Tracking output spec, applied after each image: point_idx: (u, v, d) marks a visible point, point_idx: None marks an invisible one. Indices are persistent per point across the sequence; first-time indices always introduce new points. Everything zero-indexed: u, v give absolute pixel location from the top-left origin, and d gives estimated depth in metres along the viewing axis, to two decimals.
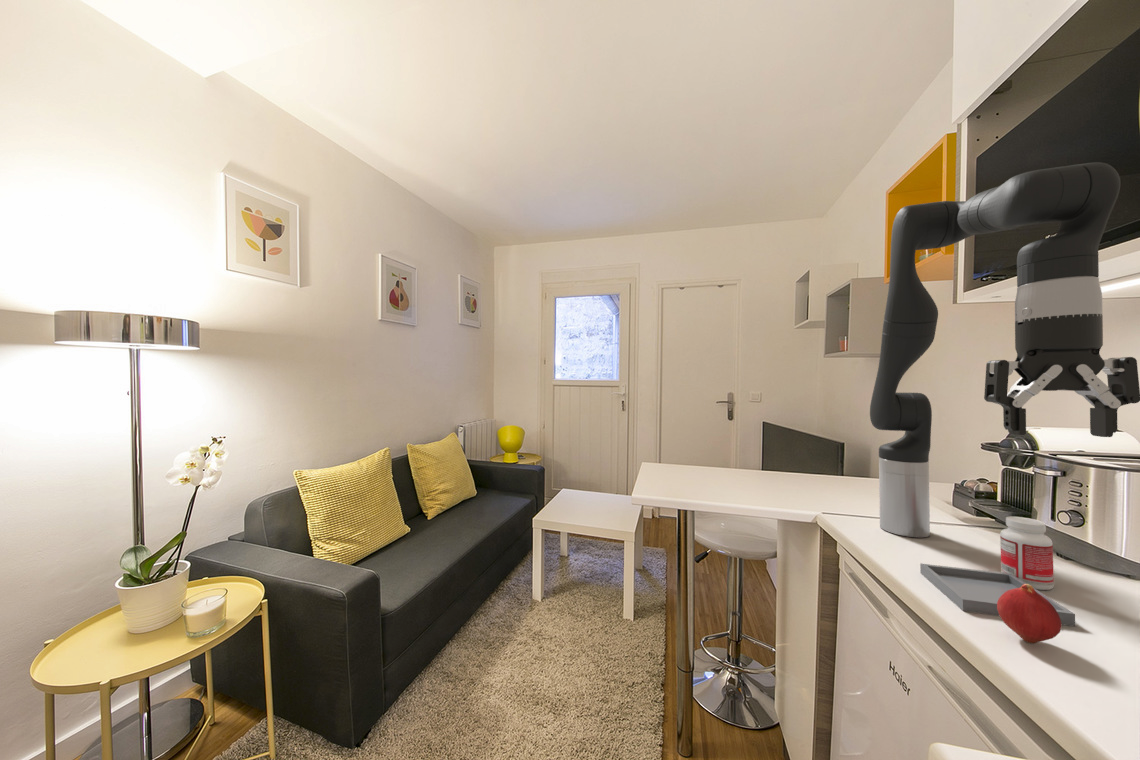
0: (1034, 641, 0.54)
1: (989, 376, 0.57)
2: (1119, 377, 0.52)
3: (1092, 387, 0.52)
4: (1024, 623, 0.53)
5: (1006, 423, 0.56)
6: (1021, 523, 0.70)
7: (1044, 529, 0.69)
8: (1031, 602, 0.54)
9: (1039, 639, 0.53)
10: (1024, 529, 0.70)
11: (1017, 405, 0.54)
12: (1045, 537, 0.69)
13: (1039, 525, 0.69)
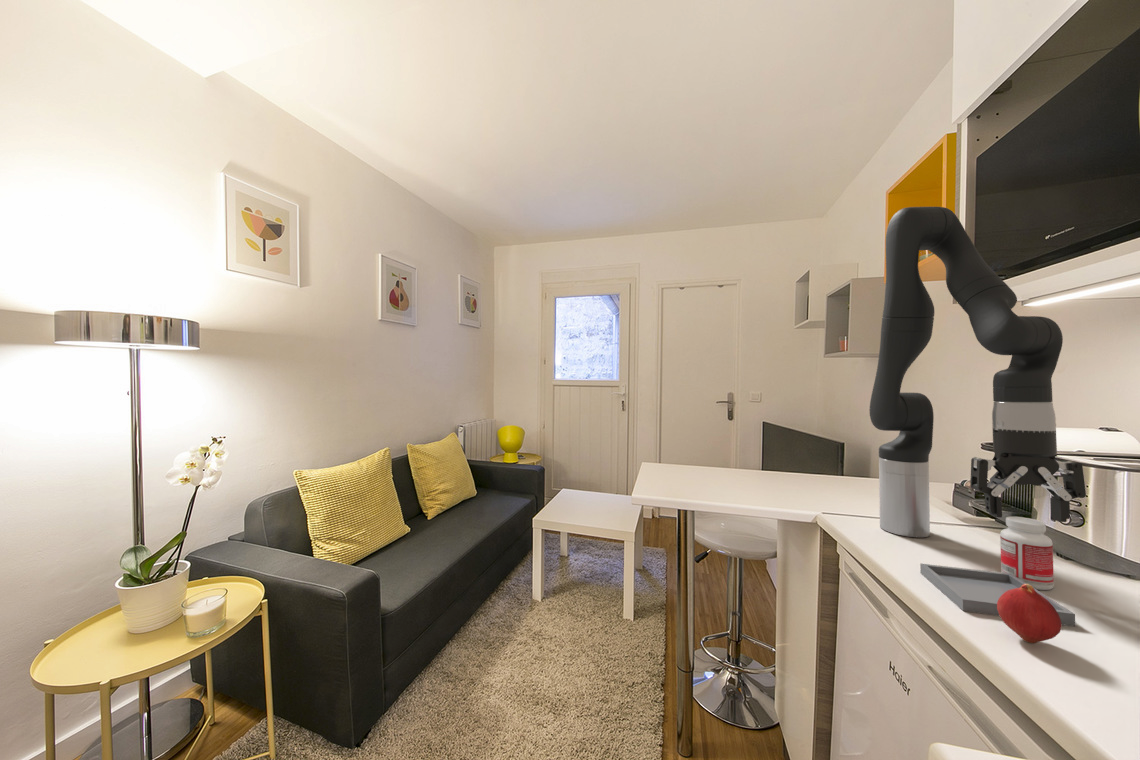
0: (1034, 641, 0.54)
1: (973, 470, 0.74)
2: (1070, 476, 0.69)
3: (1050, 484, 0.69)
4: (1024, 623, 0.53)
5: (987, 507, 0.73)
6: (1021, 523, 0.70)
7: (1044, 529, 0.69)
8: (1031, 602, 0.54)
9: (1039, 639, 0.53)
10: (1024, 529, 0.70)
11: (995, 494, 0.71)
12: (1045, 537, 0.69)
13: (1039, 525, 0.69)
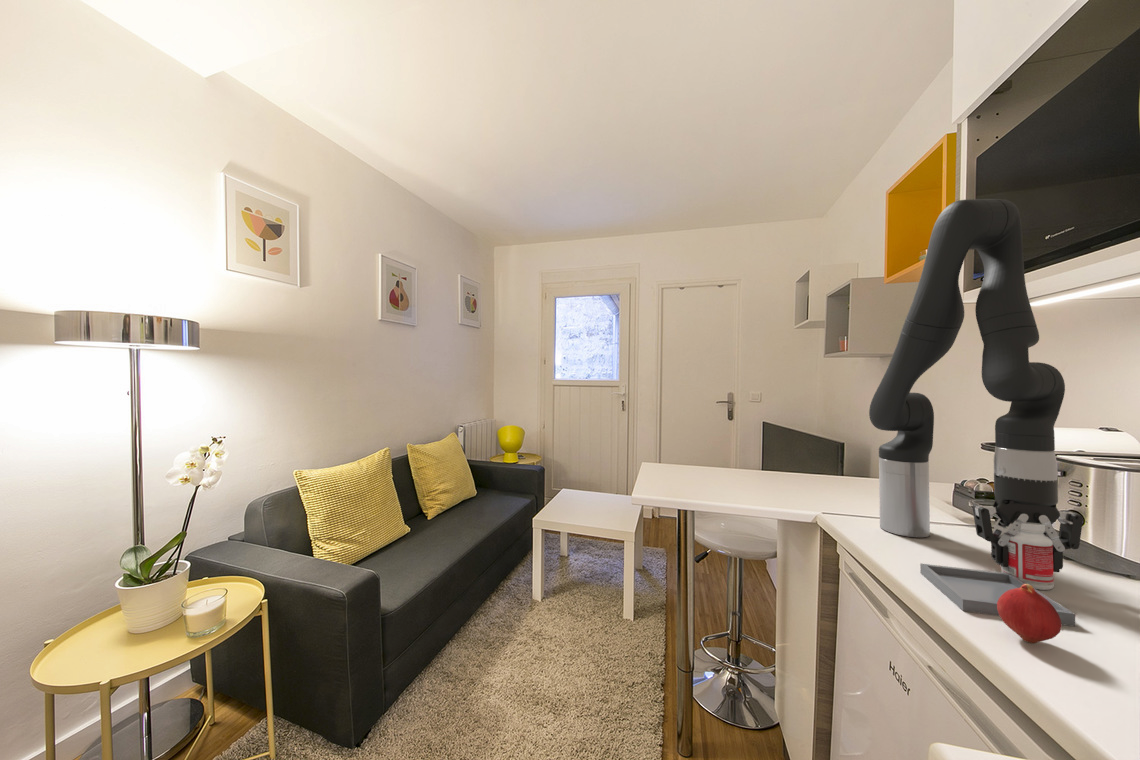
0: (1034, 641, 0.54)
1: (976, 518, 0.73)
2: (1068, 527, 0.69)
3: (1047, 533, 0.69)
4: (1024, 623, 0.53)
5: (993, 555, 0.73)
6: (1021, 523, 0.70)
7: (1044, 529, 0.69)
8: (1031, 602, 0.54)
9: (1039, 639, 0.53)
10: (1024, 529, 0.70)
11: (1001, 544, 0.71)
12: (1045, 537, 0.69)
13: (1039, 525, 0.69)
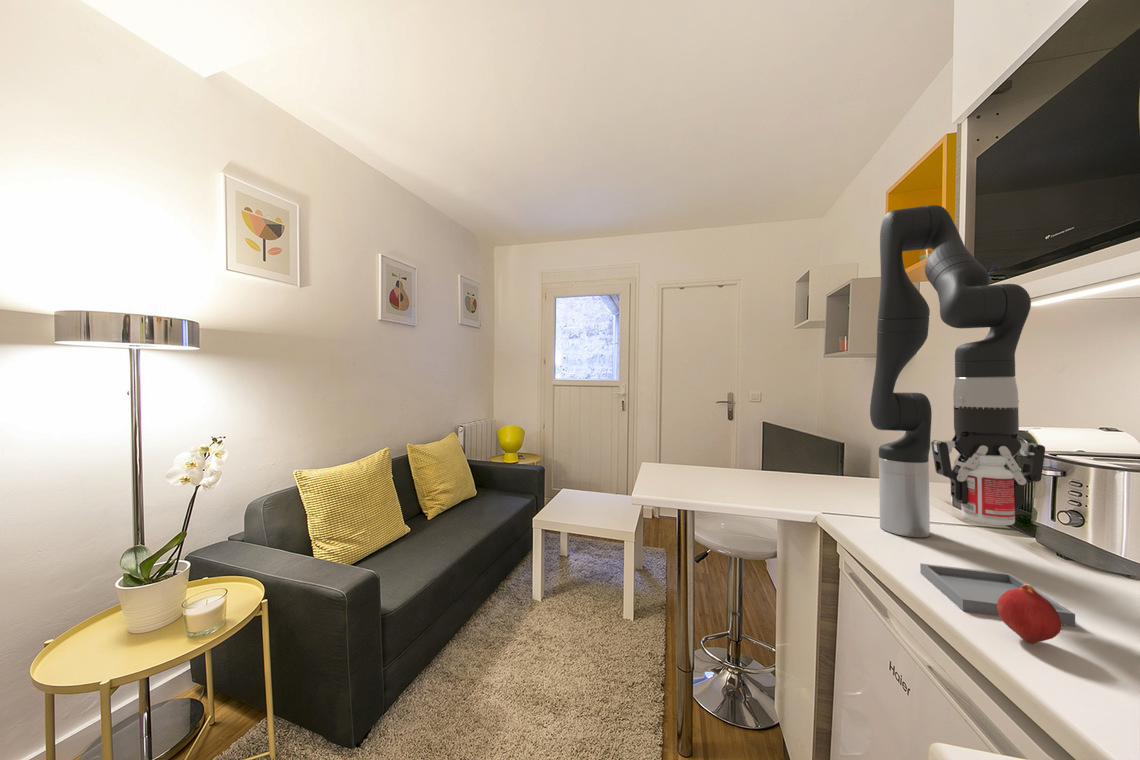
0: (1034, 641, 0.54)
1: (935, 454, 0.69)
2: (1029, 459, 0.65)
3: (1007, 465, 0.64)
4: (1024, 623, 0.53)
5: (952, 493, 0.68)
6: (981, 456, 0.65)
7: (1005, 461, 0.64)
8: (1031, 602, 0.54)
9: (1039, 639, 0.53)
10: (984, 462, 0.65)
11: (960, 479, 0.67)
12: (1006, 470, 0.64)
13: (999, 457, 0.64)
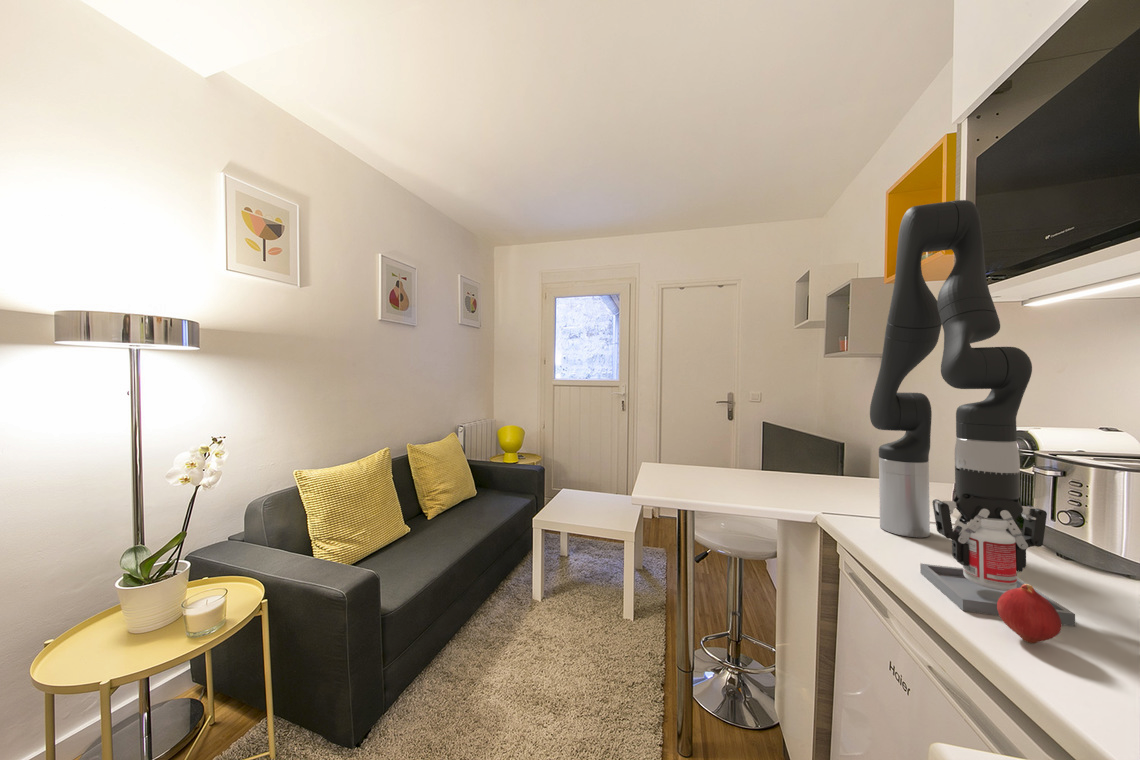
0: (1034, 641, 0.54)
1: (936, 514, 0.69)
2: (1031, 523, 0.64)
3: (1009, 529, 0.64)
4: (1024, 623, 0.53)
5: (954, 553, 0.68)
6: (982, 519, 0.65)
7: (1006, 525, 0.64)
8: (1031, 602, 0.54)
9: (1039, 639, 0.53)
10: (985, 525, 0.65)
11: (961, 541, 0.67)
12: (1007, 534, 0.64)
13: (1001, 521, 0.64)
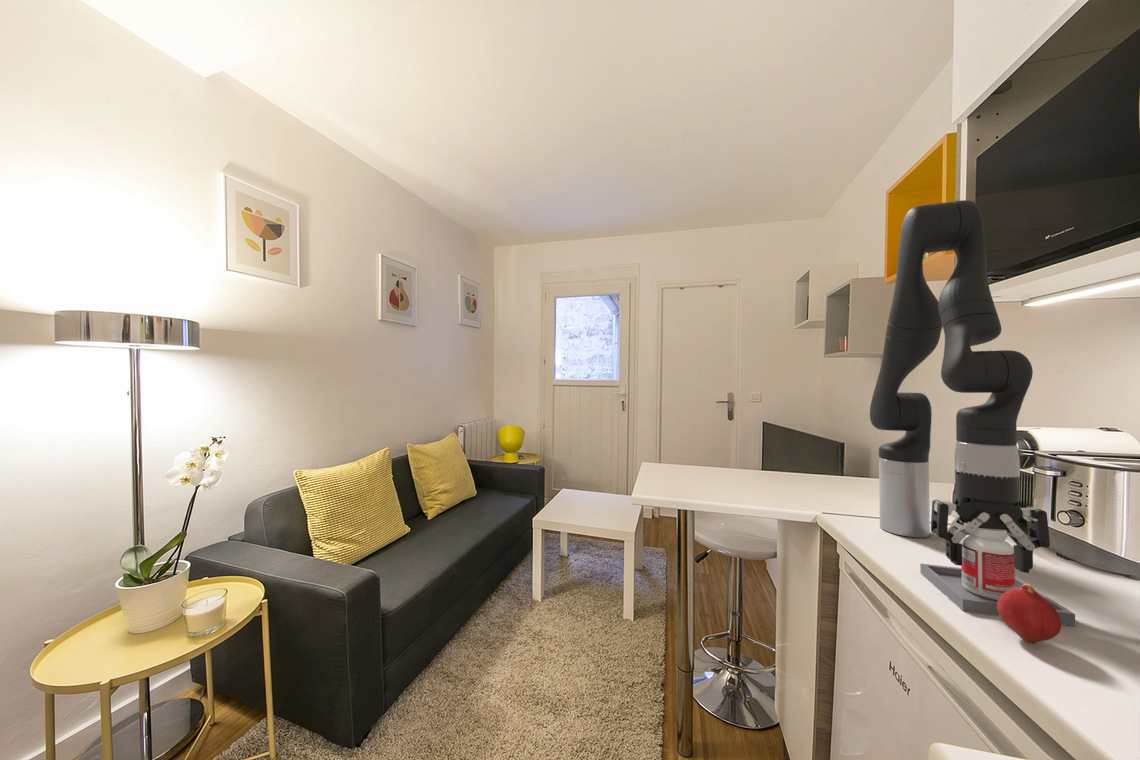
0: (1034, 641, 0.54)
1: (934, 513, 0.69)
2: (1034, 524, 0.64)
3: (1012, 532, 0.64)
4: (1024, 623, 0.53)
5: (947, 553, 0.68)
6: (981, 529, 0.65)
7: (1005, 536, 0.64)
8: (1031, 602, 0.54)
9: (1039, 639, 0.53)
10: (984, 536, 0.65)
11: (955, 541, 0.67)
12: (1006, 544, 0.64)
13: (1000, 532, 0.64)
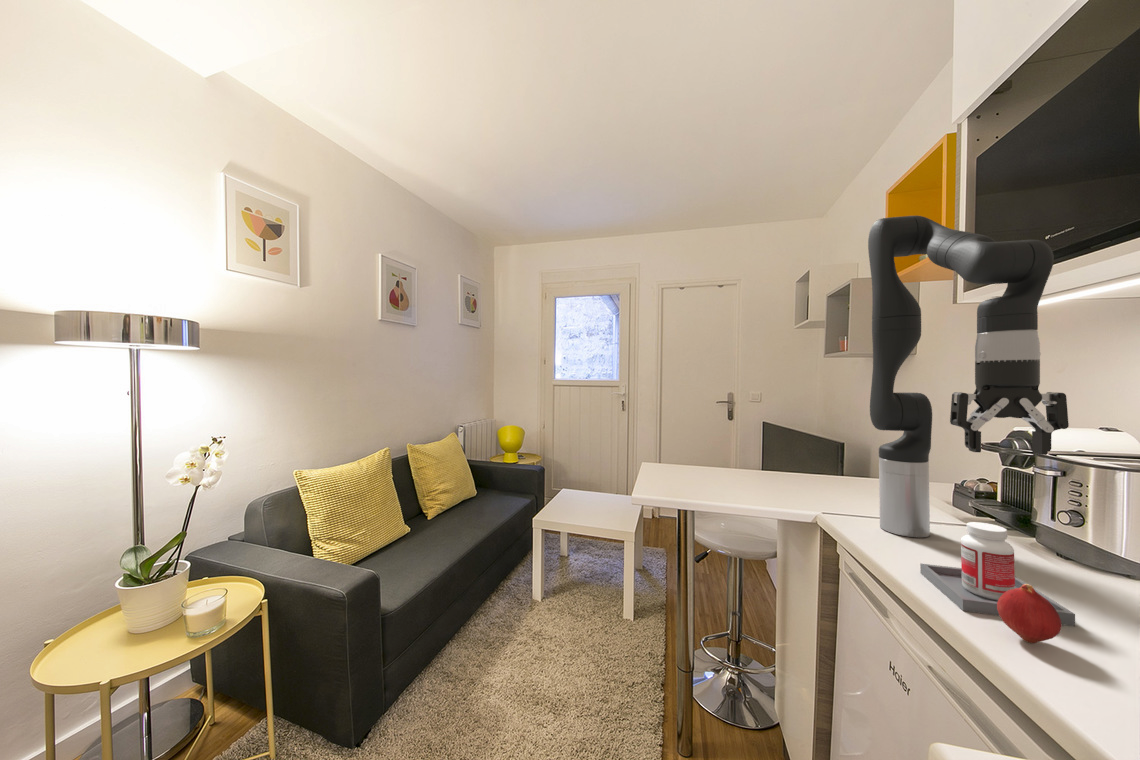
0: (1034, 641, 0.54)
1: (953, 405, 0.71)
2: (1053, 408, 0.66)
3: (1031, 415, 0.66)
4: (1024, 623, 0.53)
5: (966, 442, 0.70)
6: (981, 529, 0.65)
7: (1005, 536, 0.64)
8: (1031, 602, 0.54)
9: (1039, 639, 0.53)
10: (984, 536, 0.65)
11: (974, 429, 0.69)
12: (1006, 544, 0.64)
13: (1000, 532, 0.64)
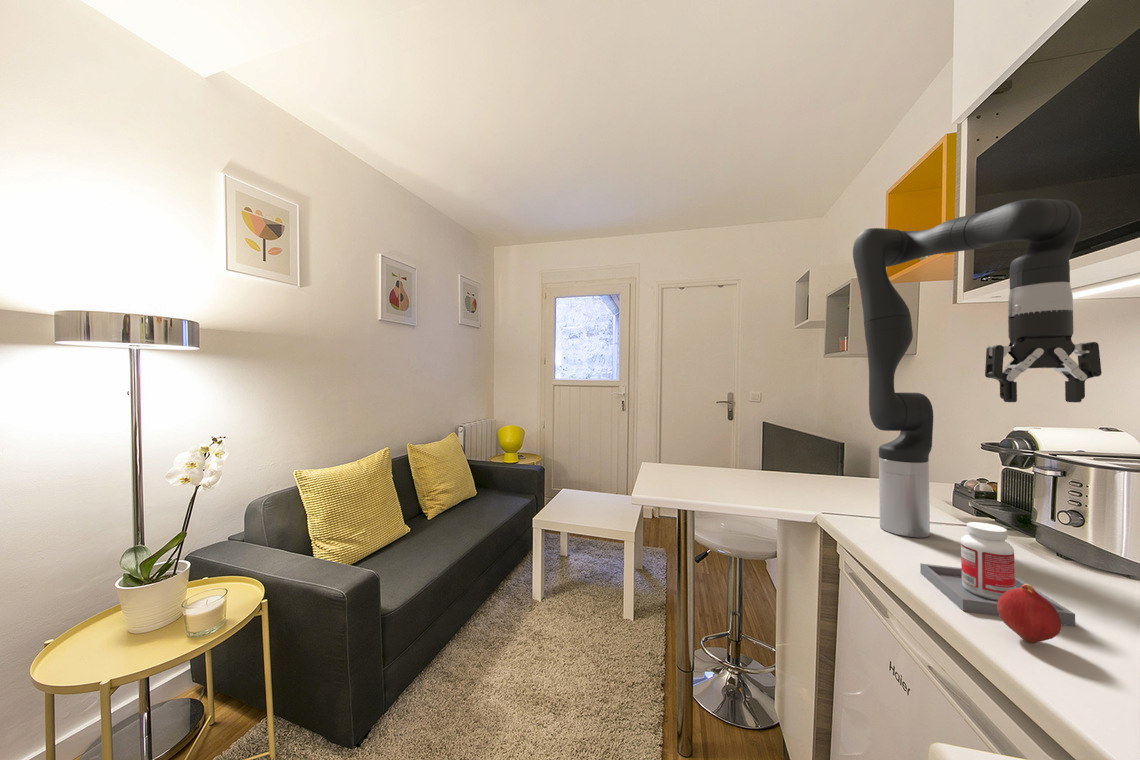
0: (1034, 641, 0.54)
1: (988, 358, 0.74)
2: (1086, 357, 0.69)
3: (1065, 364, 0.69)
4: (1024, 623, 0.53)
5: (1002, 393, 0.73)
6: (981, 529, 0.65)
7: (1005, 536, 0.64)
8: (1031, 602, 0.54)
9: (1039, 639, 0.53)
10: (984, 536, 0.65)
11: (1010, 379, 0.72)
12: (1006, 545, 0.64)
13: (1000, 532, 0.64)
